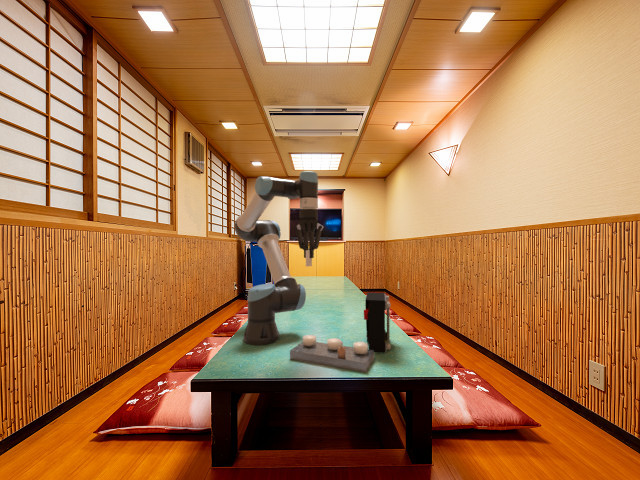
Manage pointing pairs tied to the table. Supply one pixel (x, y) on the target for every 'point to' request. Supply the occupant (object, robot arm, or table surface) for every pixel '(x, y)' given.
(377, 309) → the electrical component
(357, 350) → the knob outer
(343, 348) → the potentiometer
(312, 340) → the knob
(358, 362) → the plate
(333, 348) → the knob mid
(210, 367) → the table surface
